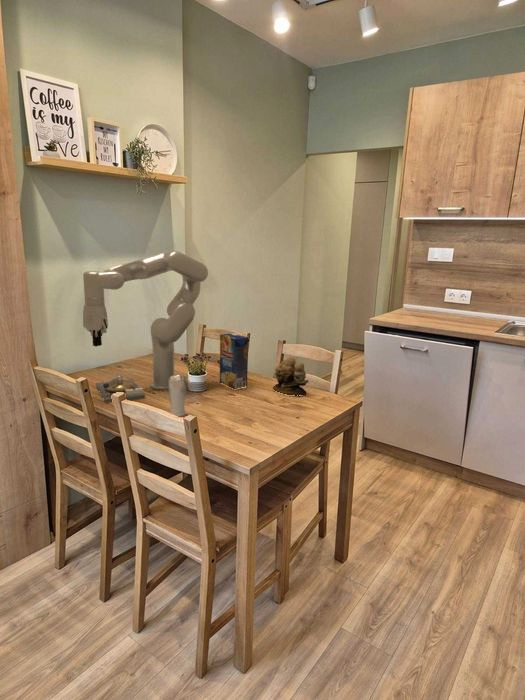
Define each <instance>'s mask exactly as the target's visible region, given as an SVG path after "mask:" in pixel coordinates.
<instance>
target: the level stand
mask: <svg viewBox="0 0 525 700" xmlns="http://www.w3.org/2000/svg"><path fill="white" fill-rule="evenodd" d="M128 380H130V381H132V382H133V383H134V388H133V389H127V390H125V392H124V393H125V394H126V399H127V401H132V400H139V399H145V398H146V396H145V393H144V388H143V387H139V386H138V385H137V384H136V382H135V381H134V379H133V378H128ZM104 382H105V381H103V382H96V383H95V386H97V387H96V389H97V390H98V392H99V391H100V392H99V394H100V393H101V394H100V395H102V396H101V397H103V398H104V400H105V401H104V400H103V401H104V403H105V402H112V399H111V395H112V394H113V393H114V392H108V391H106V390H105V388H104V387H103V384H104ZM103 398H102V399H103ZM112 403H113V402H112Z"/></svg>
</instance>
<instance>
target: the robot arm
mask: <svg viewBox="0 0 525 700" xmlns="http://www.w3.org/2000/svg"><path fill="white" fill-rule="evenodd" d="M171 271H173V272H176V273H177V274H179V275H180V276H181V277H182V285H181V287H180V289H179V291H178V292H177V293H176V294H175V296H174V297H173V298H172V300H171V301H170V302H169V304H168V306H167V307H166V312H167V315H168V316H169V317H168V318H167V317H166V318H165V317H159V318H156V319H155V320H153V321H152V324H151V326H150V337H151V343H152V376H153V377H152V378H153V379H152V380H153V381H151V382H150V383H149V387H150V388H151V389H154V390H159V391H160V390H161V391H164V390H165V391H168V380H169V377H170V376H173V375H175V344H174V343H175V342H177V341H178V340H179V339H181V337H182V336H183V335H184V333H185V332H186V331H187V329H188V328H189V326H190V325H191V324H192V322H193V321H194V318H195V315H196V310H195V307H194V303H195V302H196V300H197V299H198V297H199V295H200V292H201V283H202V282H204V281H206V280H207V278H208V275H209V270H208V268H207V266H206V265H205V264H204V263H202V262H200V261H199V260H196V259H194V258H192V257H191V256H189V255H187V254H184V253H183V252H181V251H177V250H165V251H163V252H159V253H155V254H153V255H150V256H147V257H144V258H140V259H137V260H133V261H131V262H126V263H123V264H120V265H116V266H114V267H110V268H108V269H104V270H103V271H102V272H101V271H97V270H88V271H87V270H86V271H84V272H83V276H82V277H83V295H84V304H83V310H82V326H83V328H84V329H86V330H87V331H88V332H89V333H90V336H91V338H92V346H93V347H99V346H103V343H102V341H103V340H102V336H103V334H107V332H108V331H107V329H108V327H109V322H108V321H109V320H108V312H107V308H106V305H105V304H106V303H105V291H104V290H105V289H106V290H119V289H121V288H122V287H123V286H124V284H125V283H126V282H130V281H135V280H146V279H151V278H153V277H156V276H158V275H162V274H165V273H169V272H171Z"/></svg>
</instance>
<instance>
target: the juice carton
mask: <svg viewBox="0 0 525 700" xmlns="http://www.w3.org/2000/svg"><path fill="white" fill-rule="evenodd" d="M248 363H249V337H248V336H245V335H241V334H237V333H234V332H231V333H222V334H219V384H220V383H223V384H225V385H227V386H229V387H231V388H233V389H237V388H241V387H245V386H247V387H248V369H249V367H248V365H249V364H248Z"/></svg>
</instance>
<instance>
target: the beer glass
mask: <svg viewBox="0 0 525 700" xmlns="http://www.w3.org/2000/svg"><path fill="white" fill-rule="evenodd" d="M187 387H188V385H187V377H186V375H181V374H174V375H173V376H170V377H169V380H168V390H167V392H168V398H169V404H170V412H169V414H170V413H172V414H174V415H176V416H181V417H180V418H183V417H184V416H185V415H186V409H185V408H186V407H185V406H186V405H185V404H186V396H187Z"/></svg>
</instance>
